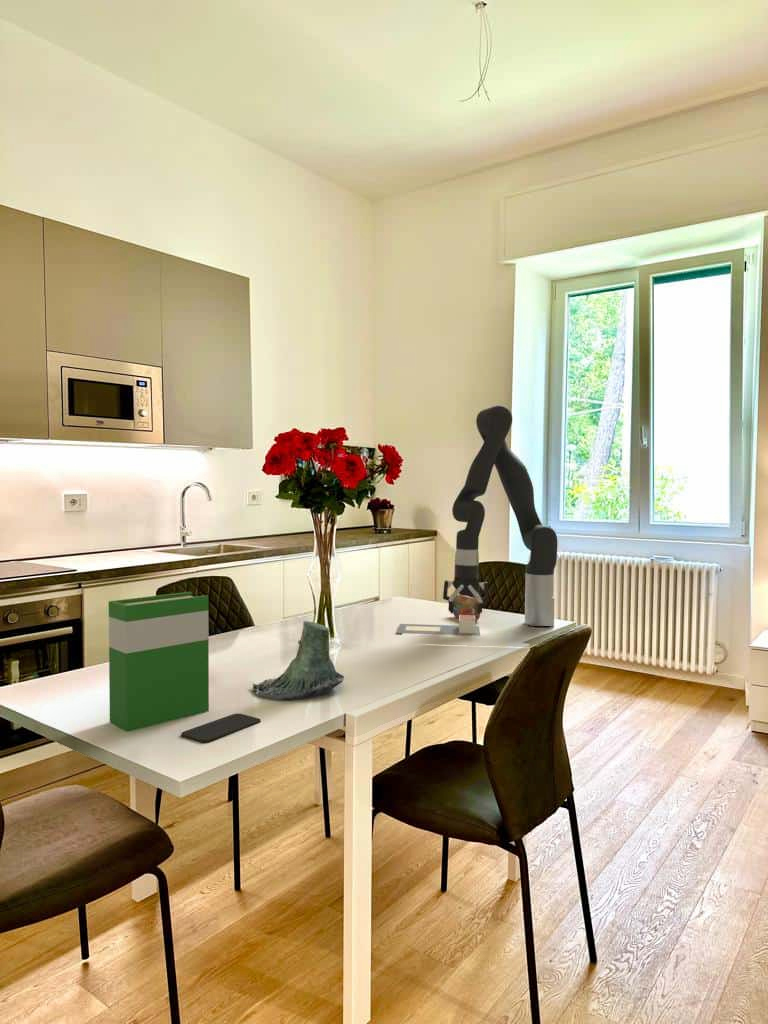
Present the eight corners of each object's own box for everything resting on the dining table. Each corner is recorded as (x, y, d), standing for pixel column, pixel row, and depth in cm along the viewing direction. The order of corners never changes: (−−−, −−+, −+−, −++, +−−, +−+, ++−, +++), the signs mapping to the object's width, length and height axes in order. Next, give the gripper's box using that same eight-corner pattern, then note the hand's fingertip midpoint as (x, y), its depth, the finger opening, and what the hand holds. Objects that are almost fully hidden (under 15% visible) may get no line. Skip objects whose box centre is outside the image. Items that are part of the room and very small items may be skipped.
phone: (263, 719, 142) (205, 741, 129) (263, 723, 142) (205, 746, 129) (236, 712, 146) (178, 733, 133) (236, 716, 146) (178, 737, 133)
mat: (479, 627, 234) (479, 625, 234) (480, 636, 220) (480, 635, 220) (399, 625, 236) (399, 623, 236) (396, 634, 222) (396, 632, 222)
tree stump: (257, 680, 173) (276, 608, 173) (337, 700, 173) (356, 628, 173) (244, 699, 154) (265, 618, 154) (334, 721, 155) (355, 641, 155)
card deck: (474, 627, 231) (474, 615, 231) (475, 633, 222) (475, 620, 222) (459, 627, 232) (459, 614, 232) (459, 633, 223) (459, 620, 223)
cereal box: (190, 702, 153) (189, 591, 152) (208, 711, 148) (208, 595, 147) (109, 722, 141) (108, 601, 139) (126, 731, 135) (125, 606, 134)
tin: (451, 616, 252) (451, 592, 252) (458, 615, 253) (459, 592, 253) (474, 624, 238) (474, 599, 238) (482, 623, 240) (482, 598, 239)
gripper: (489, 562, 229) (487, 612, 230) (444, 560, 231) (443, 610, 232) (489, 565, 222) (487, 617, 223) (443, 563, 224) (442, 614, 224)
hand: (465, 613), depth 227 cm, fingers open, 8 cm apart
